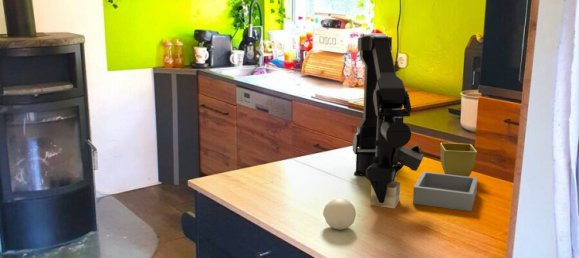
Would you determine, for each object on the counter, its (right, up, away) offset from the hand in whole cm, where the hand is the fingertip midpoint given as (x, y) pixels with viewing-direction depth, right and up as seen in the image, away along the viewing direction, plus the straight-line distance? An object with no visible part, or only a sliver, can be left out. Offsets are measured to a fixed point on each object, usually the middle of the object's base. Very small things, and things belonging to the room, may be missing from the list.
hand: (385, 197), depth 150 cm
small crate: (0, -1, 0) cm, 1 cm away
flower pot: (+23, +3, +21) cm, 31 cm away
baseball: (-13, -5, -16) cm, 21 cm away
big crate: (+16, -1, +4) cm, 16 cm away
